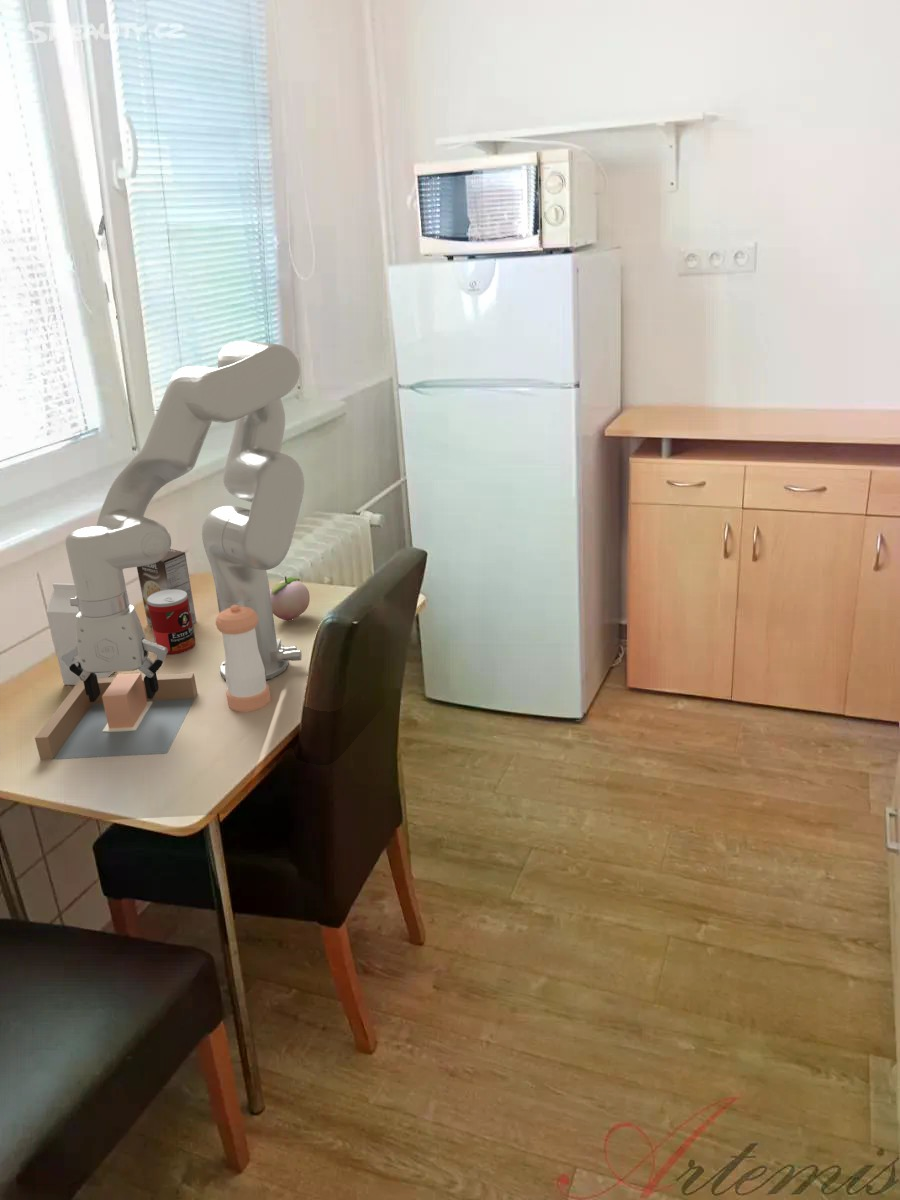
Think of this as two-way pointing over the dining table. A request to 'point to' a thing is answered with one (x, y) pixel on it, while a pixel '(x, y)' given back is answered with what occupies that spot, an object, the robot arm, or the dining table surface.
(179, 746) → the dining table surface
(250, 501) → the robot arm
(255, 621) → the pepper shaker
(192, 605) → the coffee box
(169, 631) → the canned food
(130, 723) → the terracotta block
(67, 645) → the milk carton
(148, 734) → the arena board
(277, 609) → the decorative fruit
